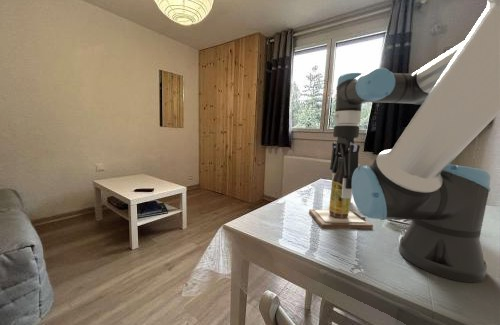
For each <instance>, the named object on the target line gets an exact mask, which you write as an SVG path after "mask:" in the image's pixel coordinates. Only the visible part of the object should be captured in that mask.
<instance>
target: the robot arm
mask: <svg viewBox="0 0 500 325" xmlns="http://www.w3.org/2000/svg"><path fill="white" fill-rule="evenodd" d="M486 1H487V3H486V8H485V9H484V11H483V12H482V13H481V15H480V17H479V18H478V20H477V21H476V23H475V24H474V26H473V27H472V28H471V31H470V32H469V33H468V34H467V36H466V38H465V40H463V41H461V42H459V43H458V44H456V45H455V46H453V47H452V48H450V49H449V50H446V51H445V52H444V53H442V54H441V55H439V56H437V57H436V58H435V59H433V60H431V61H429V62H428V63H427V64H425V65H424V66H422V67H420V68H419V69H417V70H416V71H414V72H411V73H402V72H399V73H397V72H392V71H390V70H389V69H388V68H386V67H376V68H374V69H370V70H369V71H366V72H364V73H360V72H349V73H344V74H341V75H340V76H339V77H338V78H337V85H336V98H335V110H334V111H335V112H334V114H333V118H334V126H333V135H332V136H333V137H334V138H337V141H336V142H332V145H331V146H332V149H331V158H330V166H329V170H330V171H331V173H332V178H331V179H332V180H331V182H332V181H333V179H334V176H335V174H336V172H337V169H338V158H339V157H343V162H344V173H345V176H343V184H342V195H341V198H351V191H352V197H353V201H354V204H355V206H356V208H357V210H358V212H359V213H361V214H362V215H363V216H365V217H366V218H368V219H375V220H380V221H384V220H411V222H410V223H409V225H408V227H407V229H406V231H405V233H404V235H403V236H402V237H401V238H400V240H399V245H398V251H399V254H400V255H401V256H402V257H403V258H404V259H405V260H407V261H408V262H410V264H412V265H415V266H416V267H417V268H419V269H421V270H423V271H427V272H428V273H430V274H433V275H435V276H438V277H442V278H446V279H449V280H453V281H457V282H464V283H478V282H479V283H480V282H483V281H485V279H486V276H487V270H488V265H487V263H486V260H485V258H484V253H483V249H482V243H481V232H482V228H483V222H484V217H485V212H486V208H487V203H488V197H489V193H490V192H491V187H490V185H491V175H490V173H489V172H488V171H487V170H485V169H481V168H477V167H470V166H465V165H464V166H463V165H458V164H452V161H454V160H455V159H456V158H457V157H458V156H459V155H460V153H462V152H463V151H464V150H465V148H467V146H468V145H469V144H470V143H471V142H472V141H474V139H475V138H476V137H478V135H480V133H481V132H482V131H483V130H484V129H485V128H486V127H487V126H488V125H490V123H491V122H492V121H493V120H494V119H495V118H496V117H497V116H498V115H499V114H500V0H486ZM366 103H384V104H387V103H389V104H391V103H392V104H413V105H420V107H419V108H418V109H417V110H416V112H415V114H414V116H413V117H412V118H411V119H410V122H409V123H408V125H407V126H406V128H404V130H403V132H402V133H401V135H400V136H399V138H398V139H397V141H396V142H395V143H394V146H393V147H392V148H390V149H389V148H388V149H384V150H382V151H381V152H379V153H378V154H377V156H376V158H375V160H374V161H373V162H372V164H370V165H368V164H363V165H360V166H359V152H360V148H361V146H360V144H355V139H358V138H359V136H360V135H359V134H360V126H359V125H360V124H361V114H362V106H363V105H362V104H366ZM351 199H352V198H351Z"/></svg>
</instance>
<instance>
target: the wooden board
mask: <svg viewBox="0 0 500 325" xmlns="http://www.w3.org/2000/svg"><path fill="white" fill-rule="evenodd" d="M308 212H309V215H311V217H312V218H313V219H314V221H315V222H317V224H318V225H319V226H320V228H321V229H351V230H352V229H355V230H356V229H358V230H359V229H361V230H362V229H363V230H364V229H367V230H369V229H370V230H373V228H374V225H373V224H372V223H371V222H369V221H368V220H366V218H367V217H366V216H364V215H363V214H362V213H361V212H360V211H359V210H357V211H354V210H352V209H349V213H348V217H347V218H337V217H334V216H332V215H330V213H329V209H313V208H312V209H309V210H308Z"/></svg>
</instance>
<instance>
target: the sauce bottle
mask: <svg viewBox="0 0 500 325" xmlns="http://www.w3.org/2000/svg"><path fill="white" fill-rule="evenodd" d="M343 176H345V173H344V162H343V157H339V158H338V169H337V172H336V174H335V176H334V179H333V181H332V180H331V188H330V189H331V190H330V198H329V199H330V200H329V207H328V210H329V213H330V215H332V216H334V217H337V218H347V217H348V213H349V210H350V208H351V207H350V206H351V202H350V200H351V201H352V198H341V195H342V184H343ZM351 192H352V191H351Z"/></svg>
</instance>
